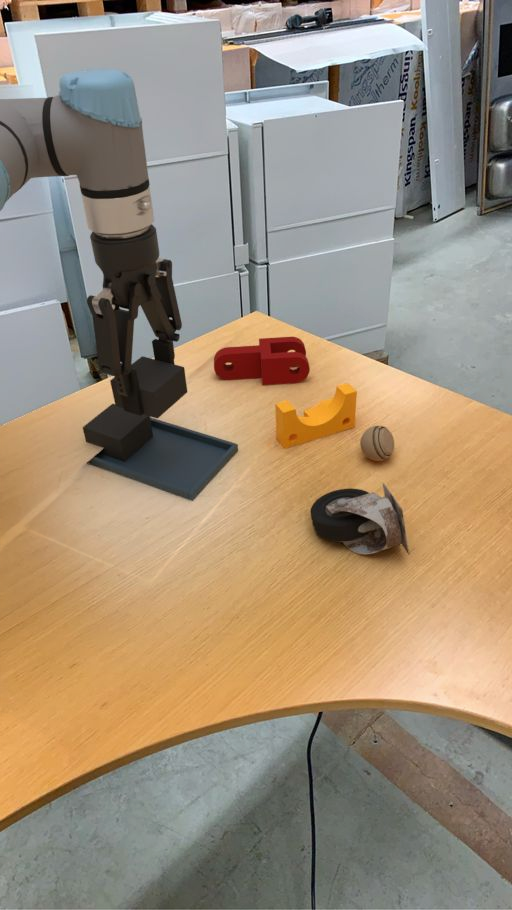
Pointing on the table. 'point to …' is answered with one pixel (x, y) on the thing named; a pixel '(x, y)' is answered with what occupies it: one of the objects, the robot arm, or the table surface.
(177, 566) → the table surface
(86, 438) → the pad
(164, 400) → the dark rectangular block
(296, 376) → the mechanical linkage
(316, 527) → the caster wheel
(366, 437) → the tan ball
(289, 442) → the pipe clamp
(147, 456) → the dark blue tray
